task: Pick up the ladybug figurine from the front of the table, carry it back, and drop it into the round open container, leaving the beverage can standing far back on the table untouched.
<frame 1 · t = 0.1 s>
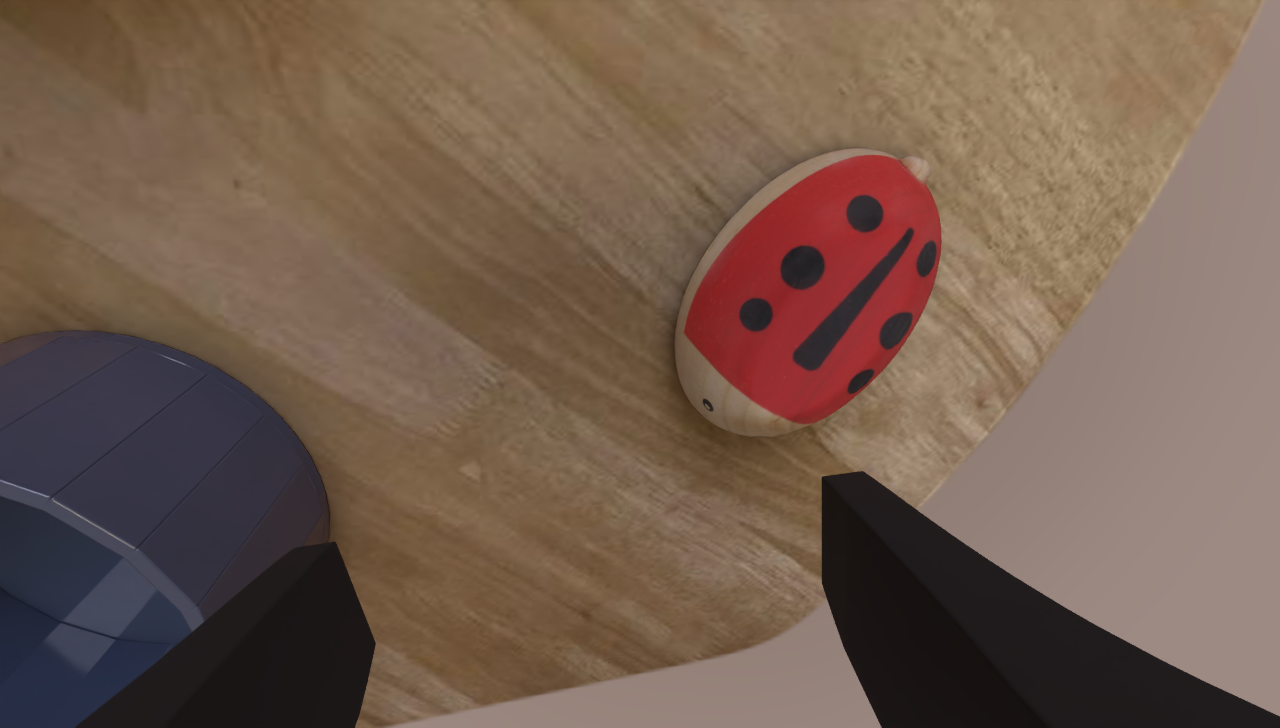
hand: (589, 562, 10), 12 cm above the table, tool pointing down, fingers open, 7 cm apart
ladybug figurine: (791, 289, 21), on the table
round open container: (137, 501, 23), on the table
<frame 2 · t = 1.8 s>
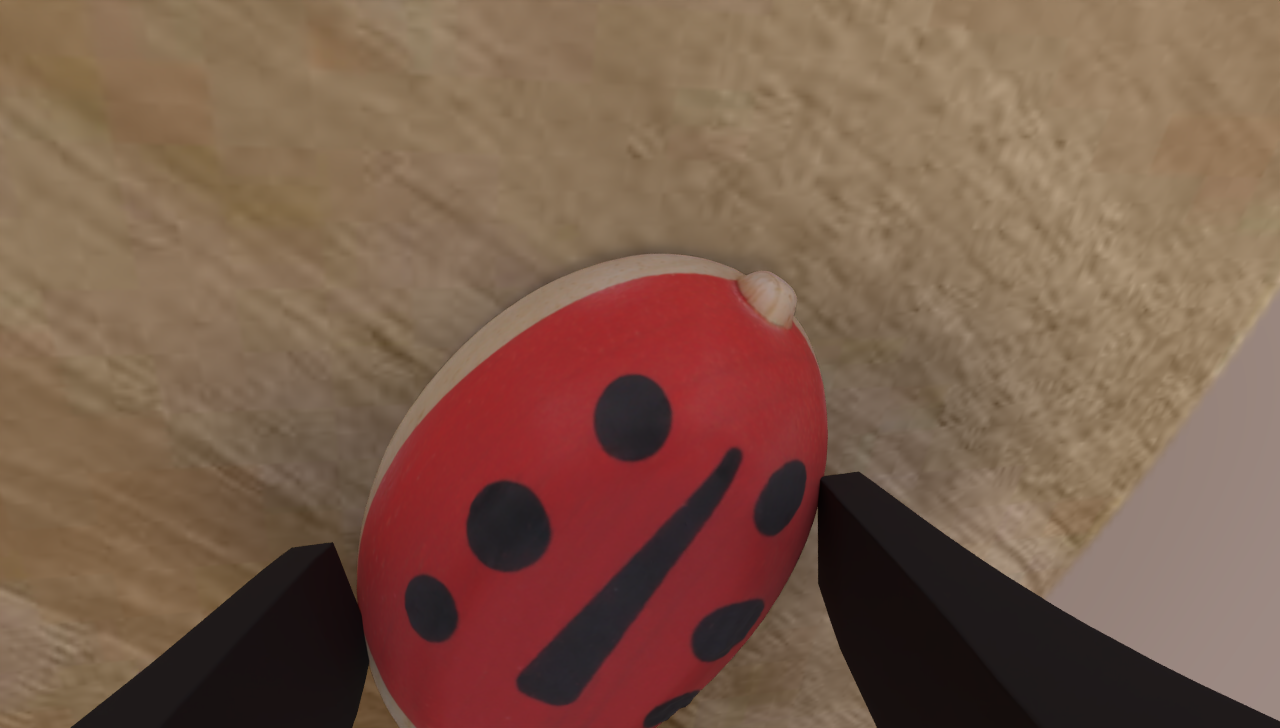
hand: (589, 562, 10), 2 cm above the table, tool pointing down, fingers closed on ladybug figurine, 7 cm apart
ladybug figurine: (586, 481, 12), on the table, touching gripper
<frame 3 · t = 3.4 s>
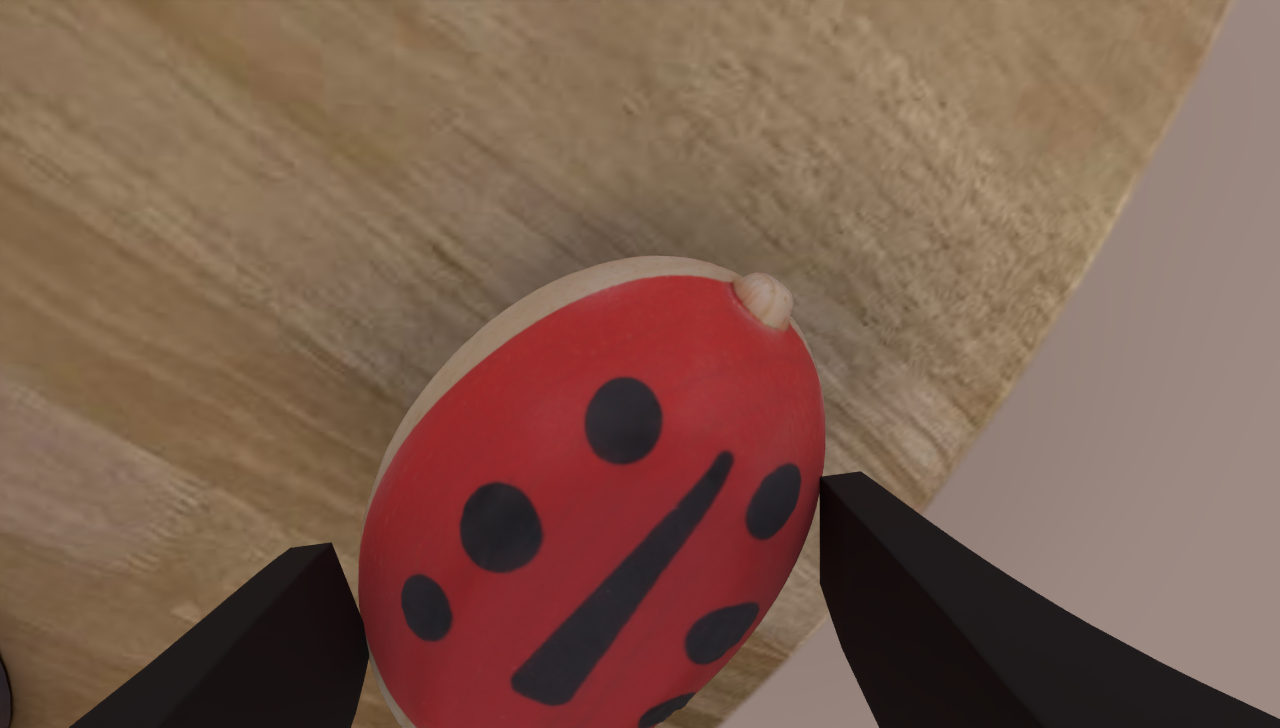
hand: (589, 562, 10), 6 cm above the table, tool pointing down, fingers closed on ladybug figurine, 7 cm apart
ladybug figurine: (587, 482, 12), point 3 cm above the table, touching gripper
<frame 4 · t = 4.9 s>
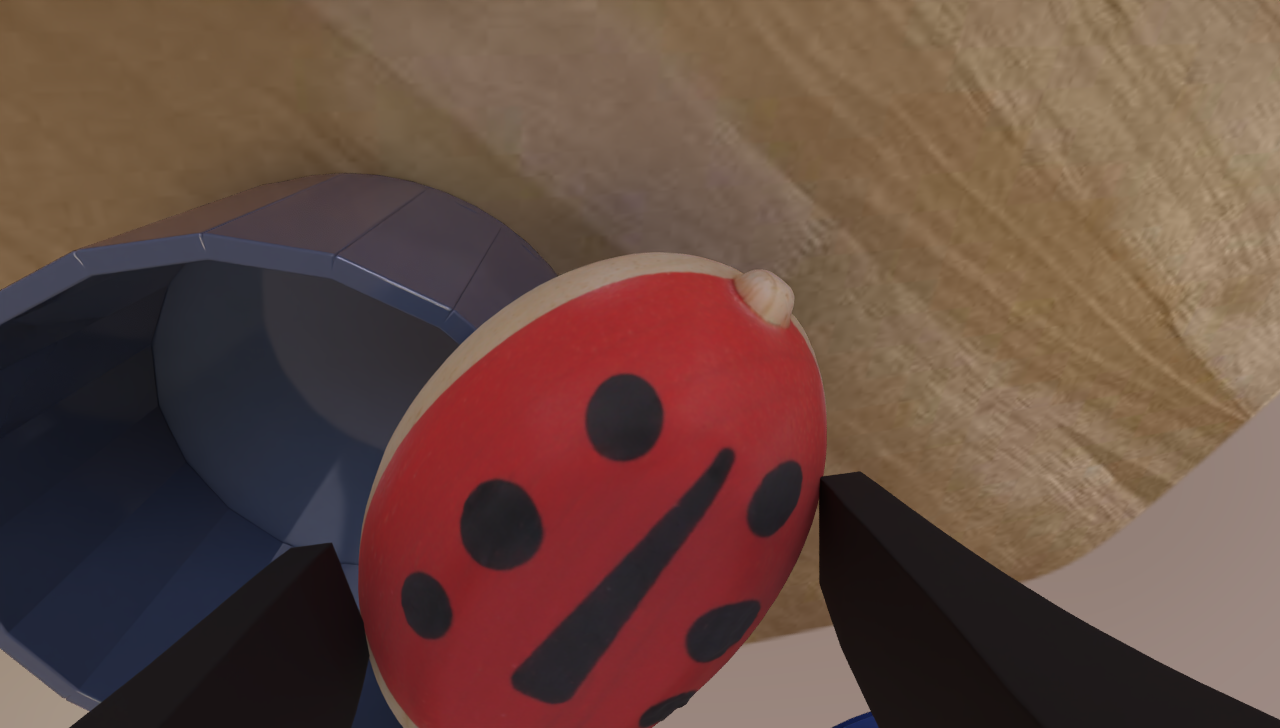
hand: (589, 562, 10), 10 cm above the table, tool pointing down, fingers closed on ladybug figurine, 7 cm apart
ladybug figurine: (587, 480, 12), point 8 cm above the table, touching gripper
round open container: (384, 395, 19), on the table
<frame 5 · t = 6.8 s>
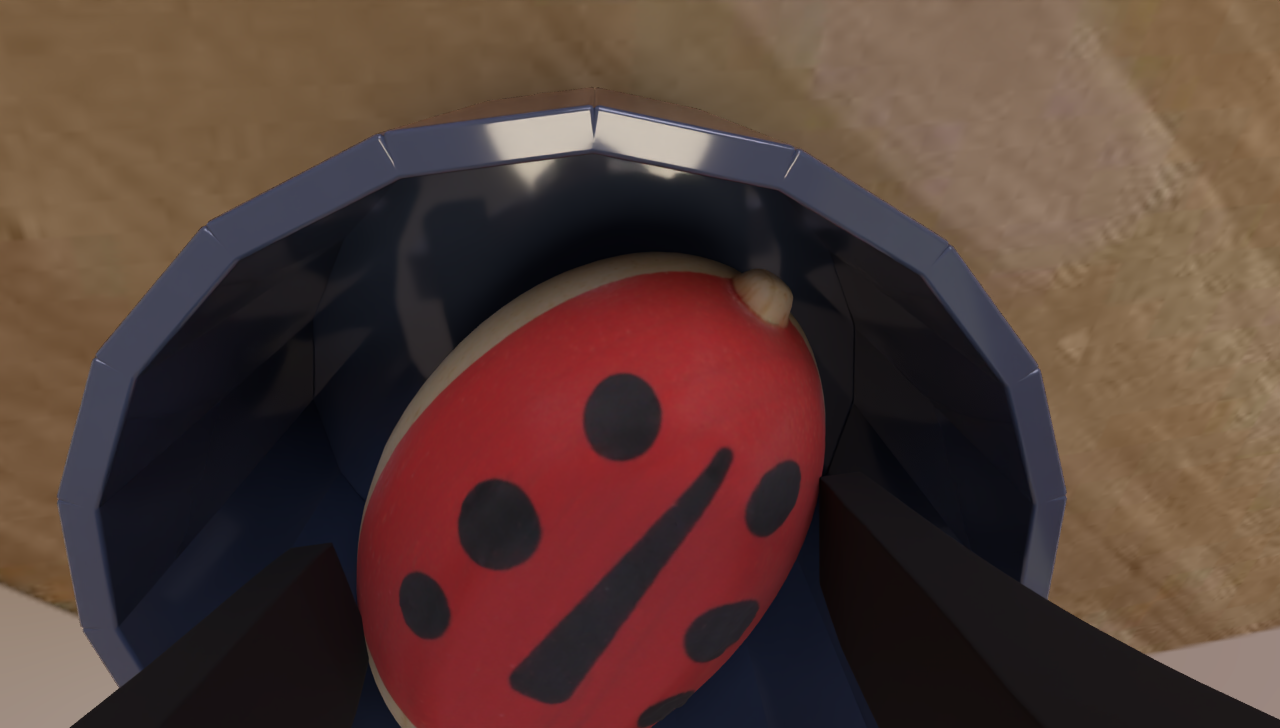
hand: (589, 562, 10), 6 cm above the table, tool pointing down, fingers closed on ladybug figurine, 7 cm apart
ladybug figurine: (586, 480, 12), point 4 cm above the table, touching gripper
round open container: (591, 387, 15), on the table
when the fingers open (4 cm above the table, at t = 8.1 s): ladybug figurine drops 2 cm, resting on round open container.
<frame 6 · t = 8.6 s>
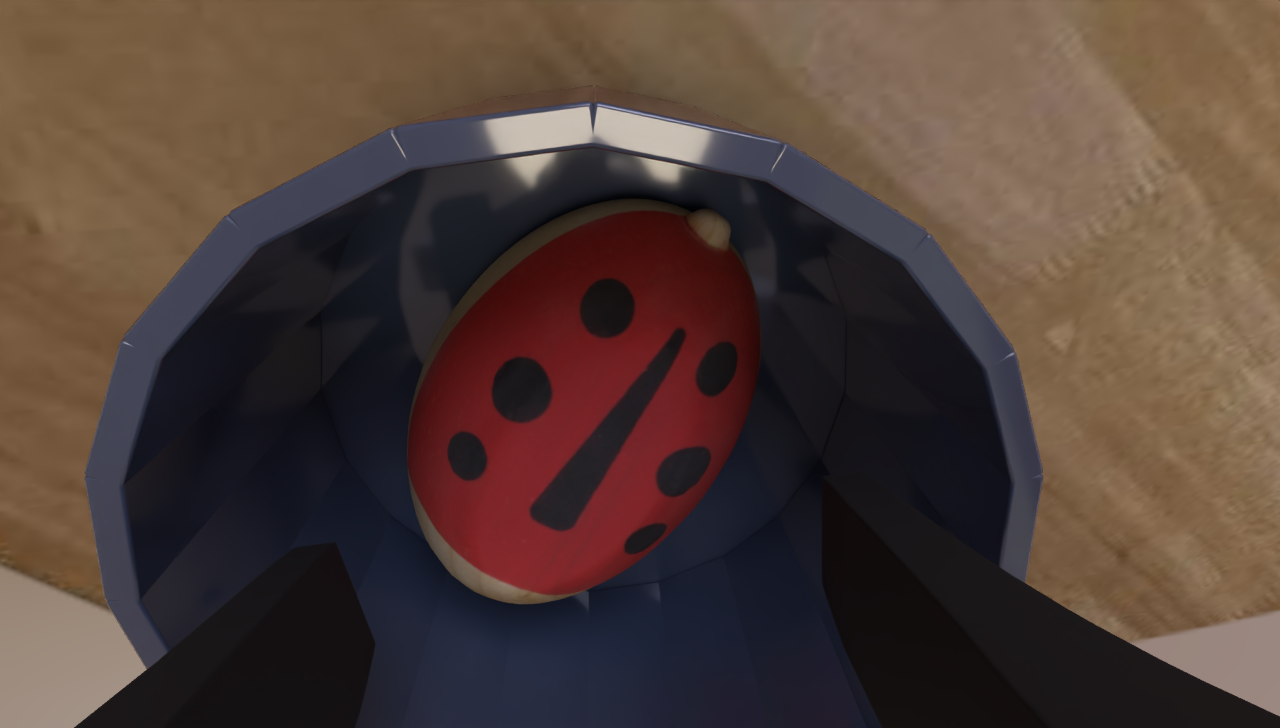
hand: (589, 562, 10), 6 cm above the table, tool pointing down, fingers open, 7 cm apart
ladybug figurine: (581, 387, 15), resting on round open container
round open container: (591, 378, 16), on the table
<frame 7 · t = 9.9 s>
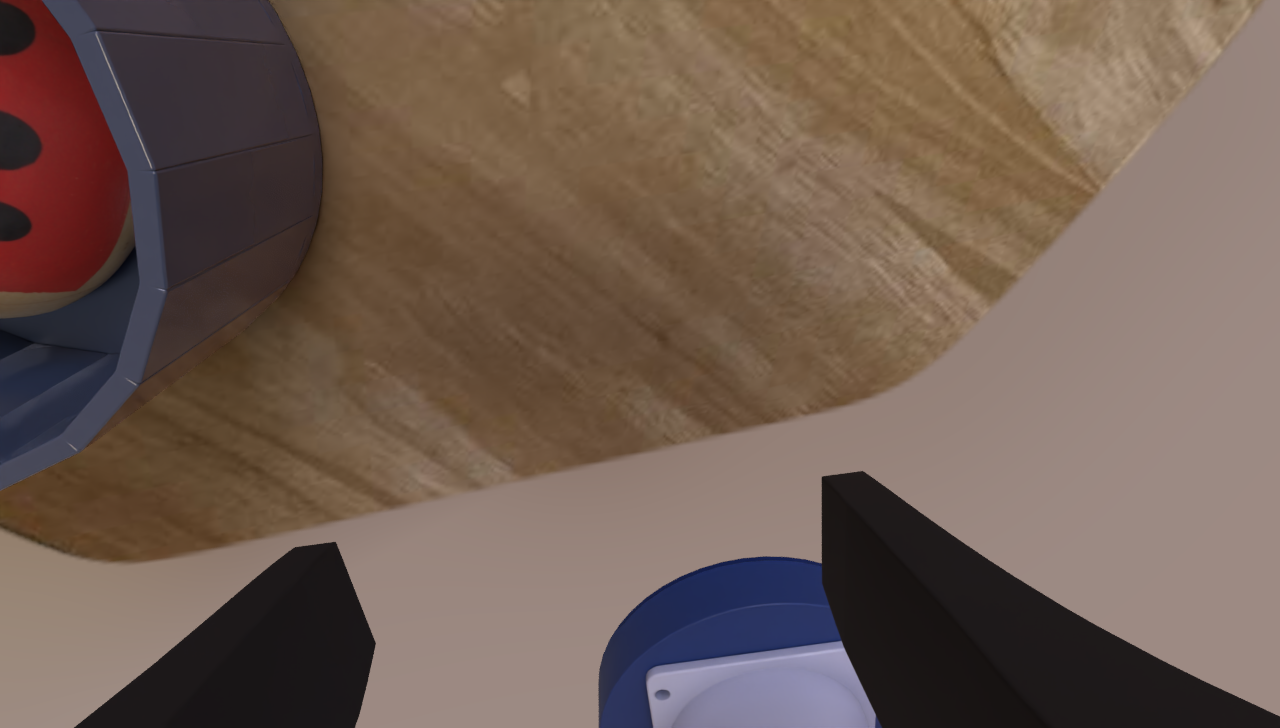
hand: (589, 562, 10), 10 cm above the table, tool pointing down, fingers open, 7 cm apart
ladybug figurine: (34, 125, 16), resting on round open container
round open container: (56, 122, 16), on the table
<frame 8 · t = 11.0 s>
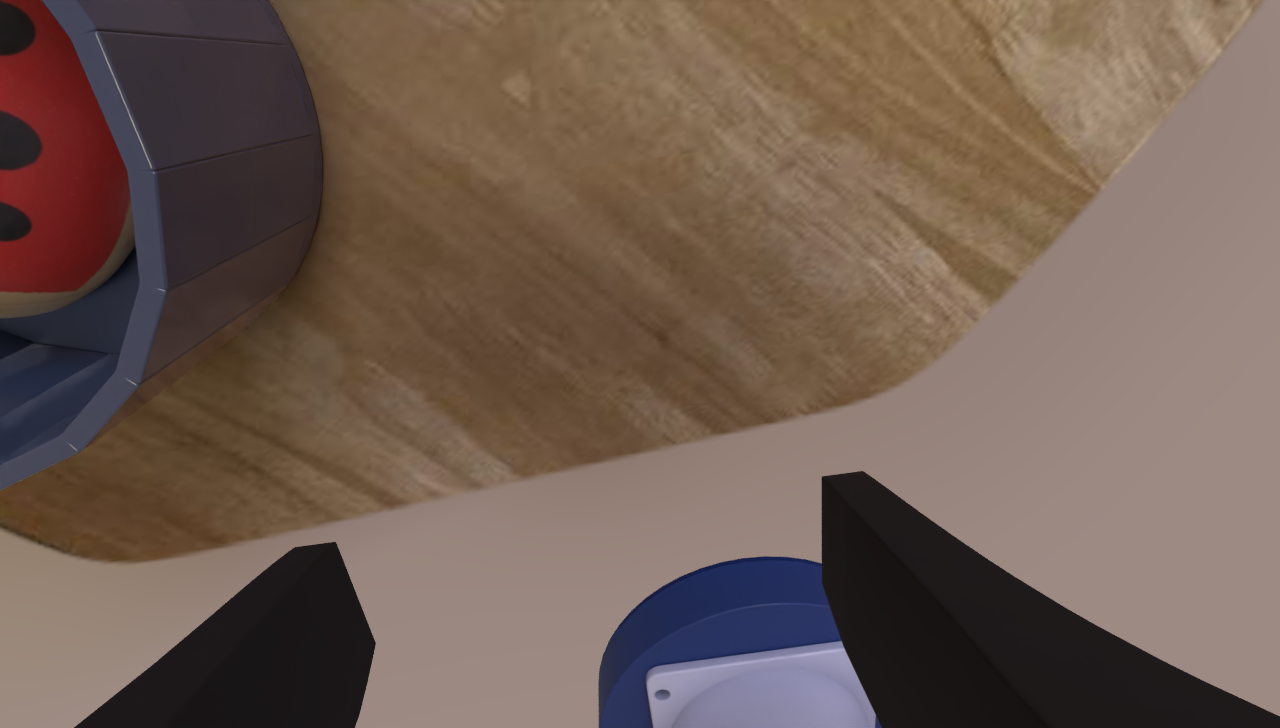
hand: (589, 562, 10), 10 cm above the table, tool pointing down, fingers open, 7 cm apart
ladybug figurine: (34, 125, 16), resting on round open container
round open container: (56, 122, 16), on the table
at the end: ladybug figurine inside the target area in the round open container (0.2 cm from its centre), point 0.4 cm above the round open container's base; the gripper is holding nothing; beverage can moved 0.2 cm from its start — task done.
